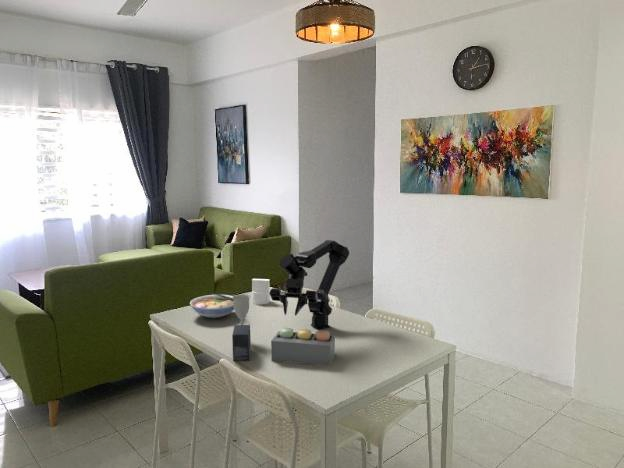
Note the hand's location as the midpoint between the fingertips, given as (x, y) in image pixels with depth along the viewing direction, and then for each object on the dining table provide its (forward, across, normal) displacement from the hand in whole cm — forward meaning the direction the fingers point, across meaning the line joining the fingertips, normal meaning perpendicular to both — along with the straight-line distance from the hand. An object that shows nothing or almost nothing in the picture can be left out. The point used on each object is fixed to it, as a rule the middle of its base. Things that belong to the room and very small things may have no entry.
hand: (290, 314), depth 187 cm
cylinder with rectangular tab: (-31, -30, +50) cm, 66 cm away
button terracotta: (+9, +14, +1) cm, 17 cm away
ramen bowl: (-12, -44, +32) cm, 56 cm away
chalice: (+6, -22, +14) cm, 26 cm away
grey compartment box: (+15, +7, +4) cm, 17 cm away
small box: (+17, -16, +2) cm, 24 cm away
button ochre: (+9, +7, +1) cm, 12 cm away
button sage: (+9, 0, +1) cm, 9 cm away
